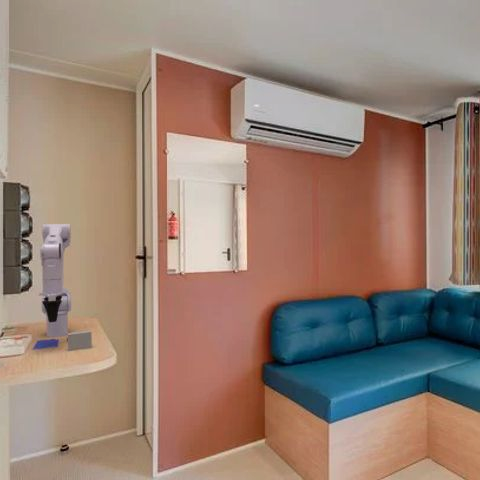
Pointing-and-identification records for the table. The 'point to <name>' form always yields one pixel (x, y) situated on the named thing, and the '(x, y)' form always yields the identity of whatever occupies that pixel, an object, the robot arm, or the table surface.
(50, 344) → the hard drive
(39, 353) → the table surface
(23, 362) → the table surface
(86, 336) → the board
